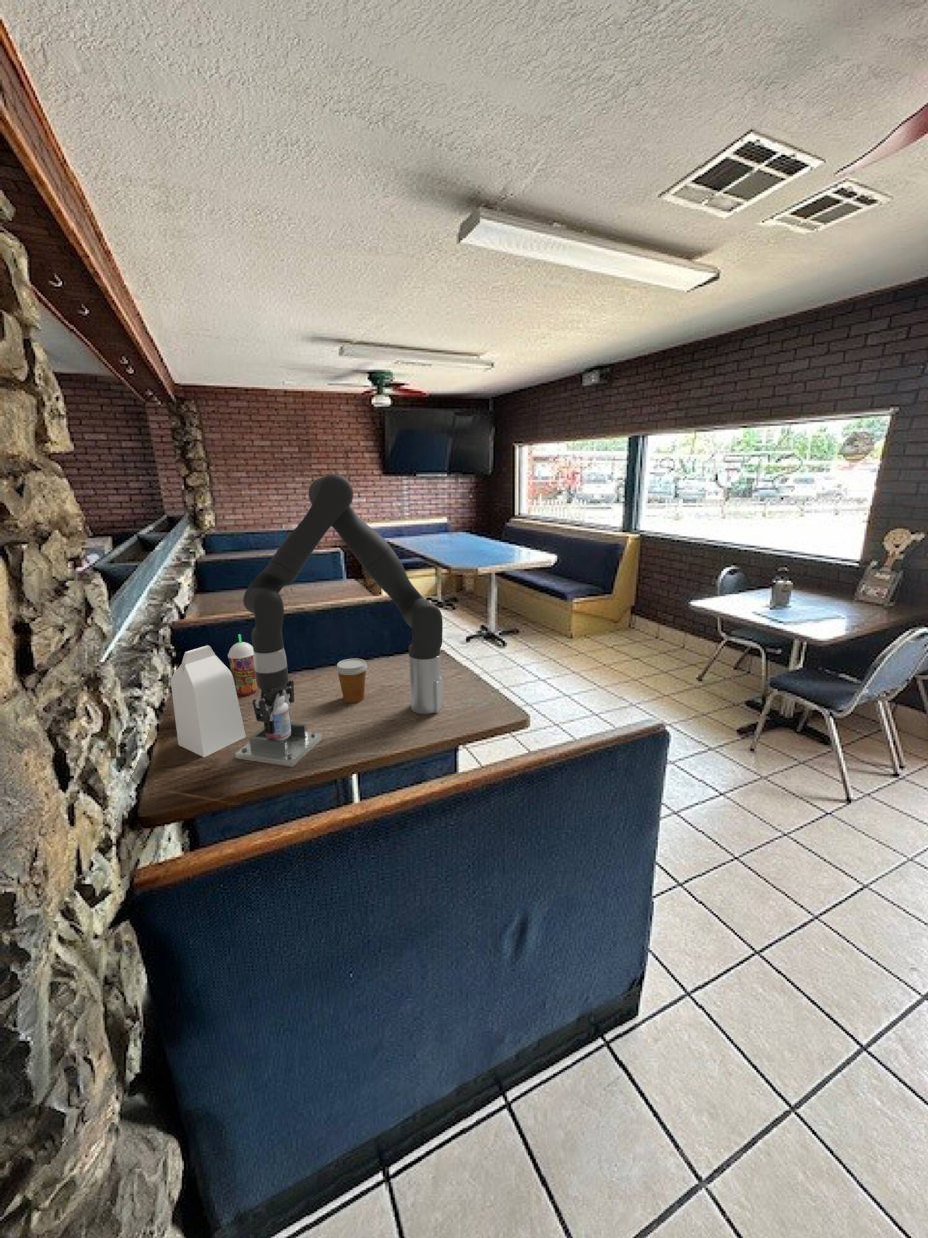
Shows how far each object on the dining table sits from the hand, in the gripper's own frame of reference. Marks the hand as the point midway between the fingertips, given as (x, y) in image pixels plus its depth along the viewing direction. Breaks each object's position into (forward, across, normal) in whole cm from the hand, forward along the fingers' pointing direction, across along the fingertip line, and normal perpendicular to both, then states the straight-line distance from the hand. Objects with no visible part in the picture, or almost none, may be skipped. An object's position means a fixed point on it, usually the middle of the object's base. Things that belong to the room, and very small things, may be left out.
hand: (278, 727), depth 130 cm
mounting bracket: (+6, 0, 0) cm, 6 cm away
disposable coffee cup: (+6, +32, -5) cm, 33 cm away
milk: (+6, -1, +20) cm, 21 cm away
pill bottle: (+3, 0, 0) cm, 3 cm away
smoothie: (+6, +28, +31) cm, 42 cm away
